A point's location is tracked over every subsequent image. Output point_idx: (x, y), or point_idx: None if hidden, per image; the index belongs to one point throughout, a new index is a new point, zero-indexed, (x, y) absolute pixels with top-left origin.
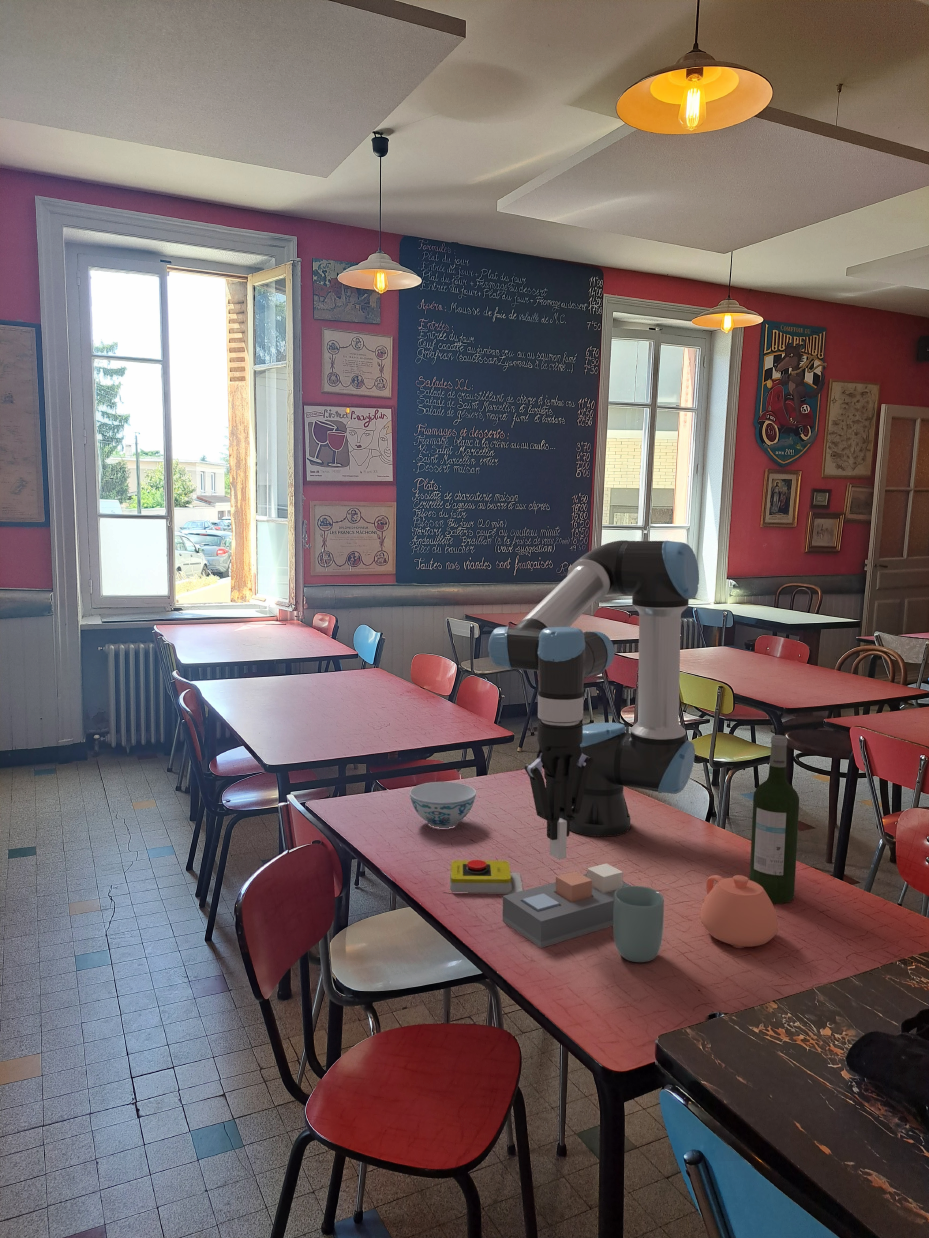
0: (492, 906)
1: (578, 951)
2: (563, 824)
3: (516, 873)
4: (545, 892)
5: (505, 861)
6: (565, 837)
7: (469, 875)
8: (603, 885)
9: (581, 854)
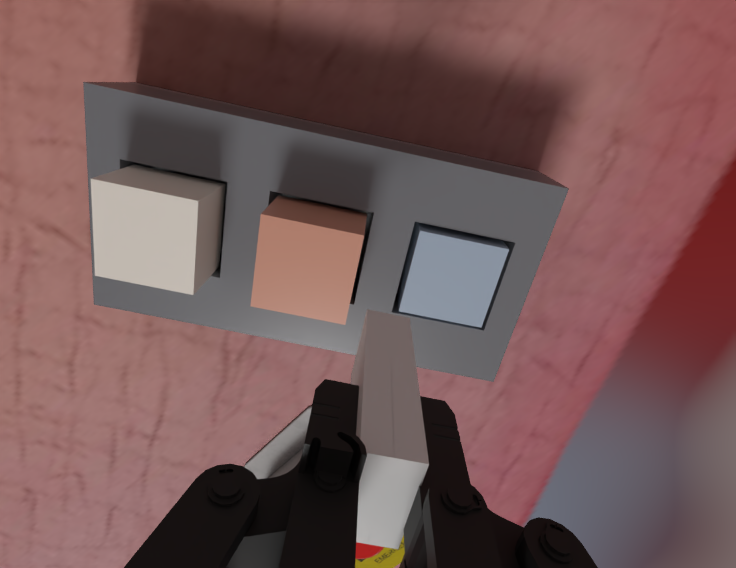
0: None
1: (479, 75)
2: (391, 440)
3: None
4: None
5: None
6: (372, 373)
7: None
8: (211, 192)
9: (18, 446)
